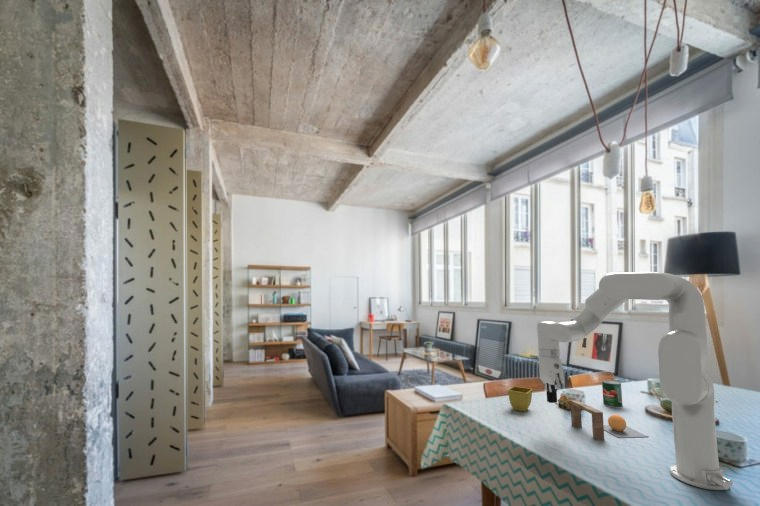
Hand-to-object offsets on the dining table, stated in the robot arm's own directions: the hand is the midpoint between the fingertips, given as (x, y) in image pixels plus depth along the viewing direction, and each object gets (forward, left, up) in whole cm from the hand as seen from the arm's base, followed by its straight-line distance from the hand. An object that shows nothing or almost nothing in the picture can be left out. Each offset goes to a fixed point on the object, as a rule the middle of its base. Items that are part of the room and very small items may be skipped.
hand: (552, 402), depth 138 cm
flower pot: (+28, -1, -12) cm, 31 cm away
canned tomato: (+32, -49, -12) cm, 60 cm away
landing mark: (0, -28, -12) cm, 30 cm away
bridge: (0, -14, -12) cm, 18 cm away
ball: (+1, -27, -9) cm, 28 cm away
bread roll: (+30, -26, -12) cm, 42 cm away
